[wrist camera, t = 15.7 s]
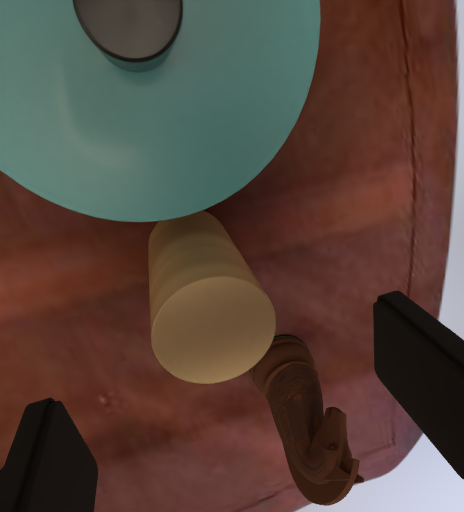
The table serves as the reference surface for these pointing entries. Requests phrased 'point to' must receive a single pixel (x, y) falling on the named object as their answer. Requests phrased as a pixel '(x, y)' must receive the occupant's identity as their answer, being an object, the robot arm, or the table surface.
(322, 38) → the table surface
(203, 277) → the cylinder
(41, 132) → the pot lid
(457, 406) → the robot arm
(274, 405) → the chess piece
